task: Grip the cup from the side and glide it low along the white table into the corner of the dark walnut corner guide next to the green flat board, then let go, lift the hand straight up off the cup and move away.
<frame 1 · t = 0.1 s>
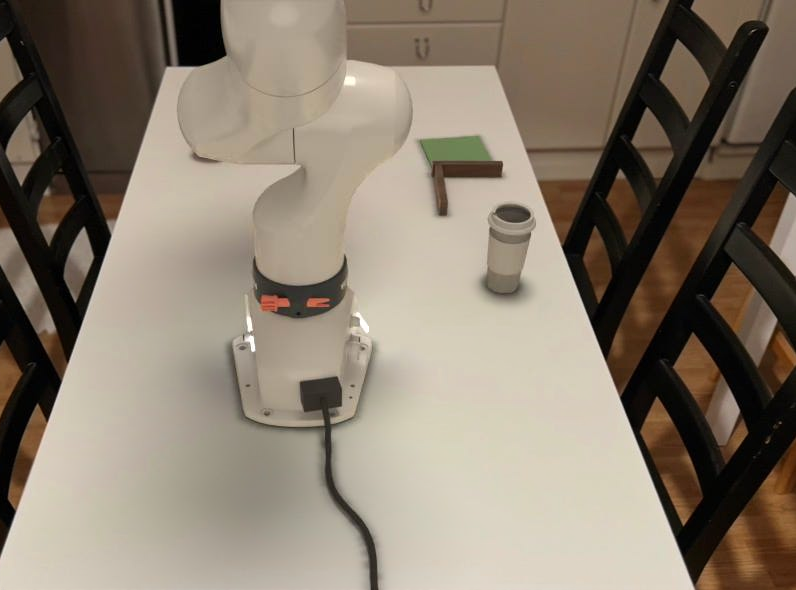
tomato: (216, 154, 164), on the table
corner guide: (469, 190, 154), on the table
green flat board: (456, 153, 164), on the table
cup: (501, 285, 135), on the table
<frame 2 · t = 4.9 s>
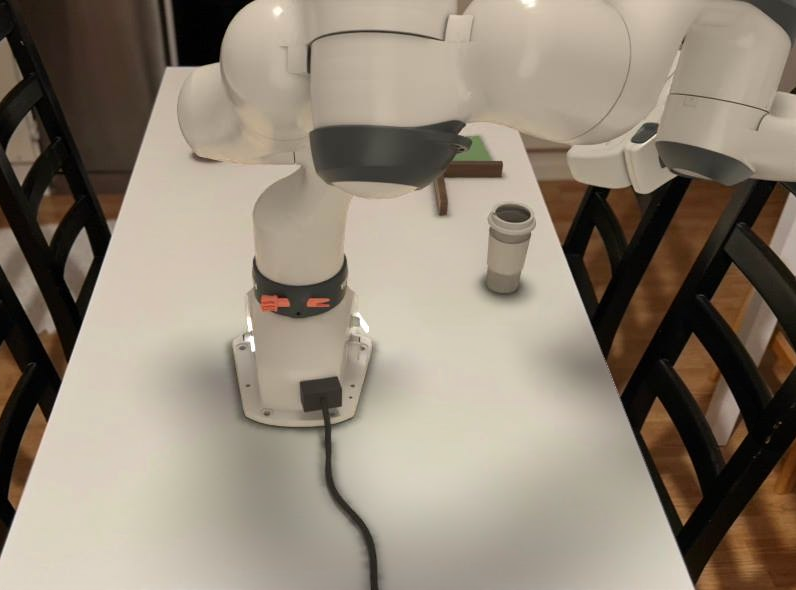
hand: (585, 108, 111), 29 cm above the table, tool horizontal, fingers open, 8 cm apart
nothing on the table moved.
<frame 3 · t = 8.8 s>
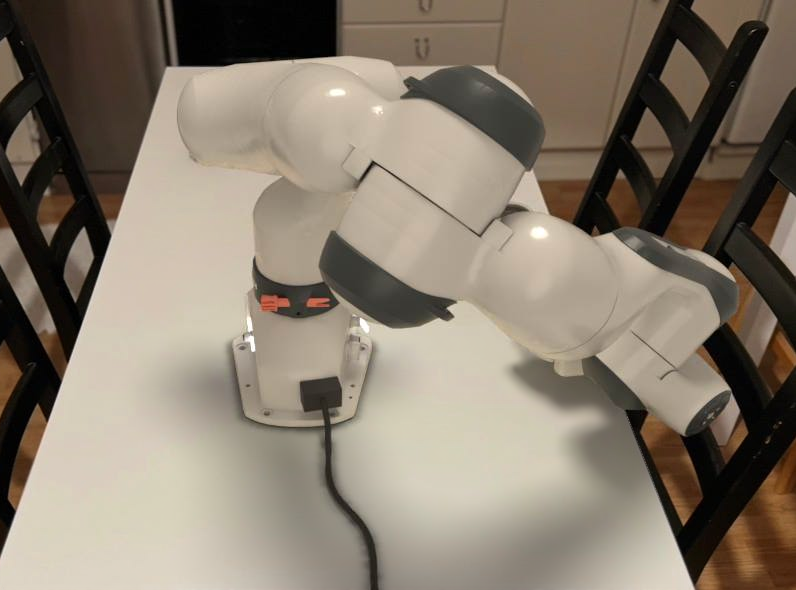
hand: (552, 280, 123), 7 cm above the table, tool horizontal, fingers open, 8 cm apart
nothing on the table moved.
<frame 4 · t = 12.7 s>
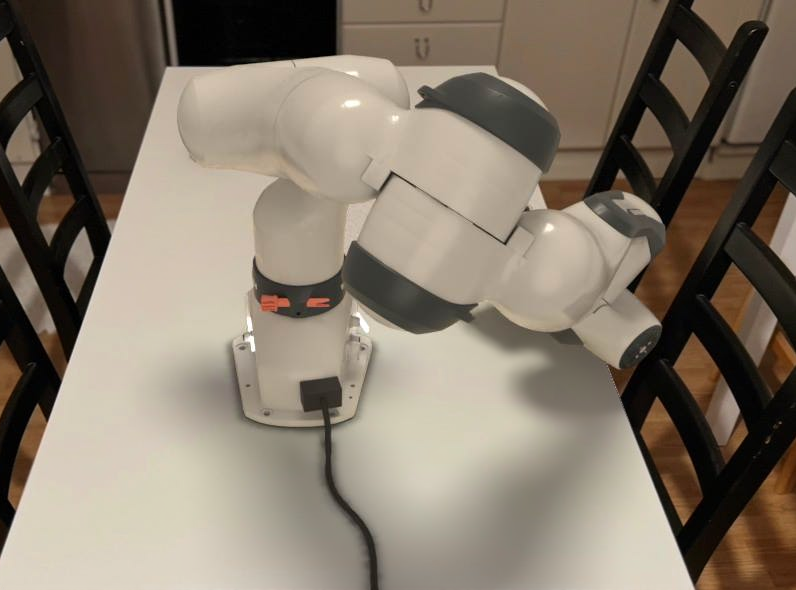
hand: (503, 232, 131), 8 cm above the table, tool horizontal, fingers closed, pressing on cup
cup: (503, 284, 135), on the table, touching gripper
everything else where it was.
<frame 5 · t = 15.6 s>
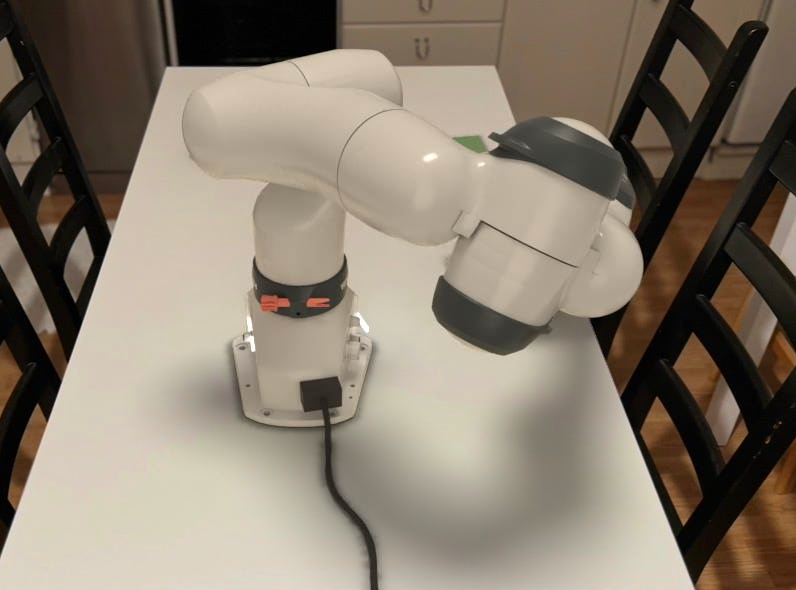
hand: (486, 182, 141), 8 cm above the table, tool horizontal, fingers closed, pressing on cup
cup: (487, 232, 145), on the table, touching gripper
everything else where it was.
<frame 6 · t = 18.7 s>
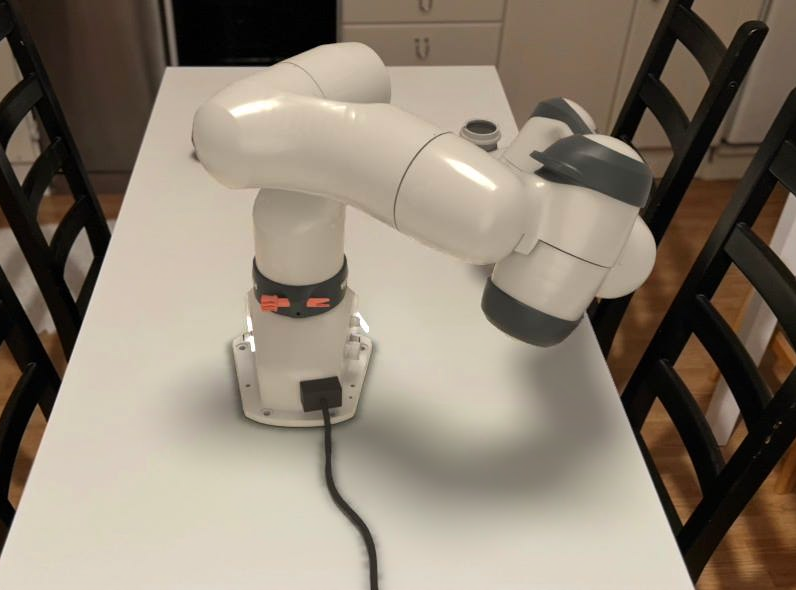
hand: (471, 147, 150), 7 cm above the table, tool horizontal, fingers closed, pressing on cup
cup: (473, 194, 154), on the table, touching gripper
everything else where it was.
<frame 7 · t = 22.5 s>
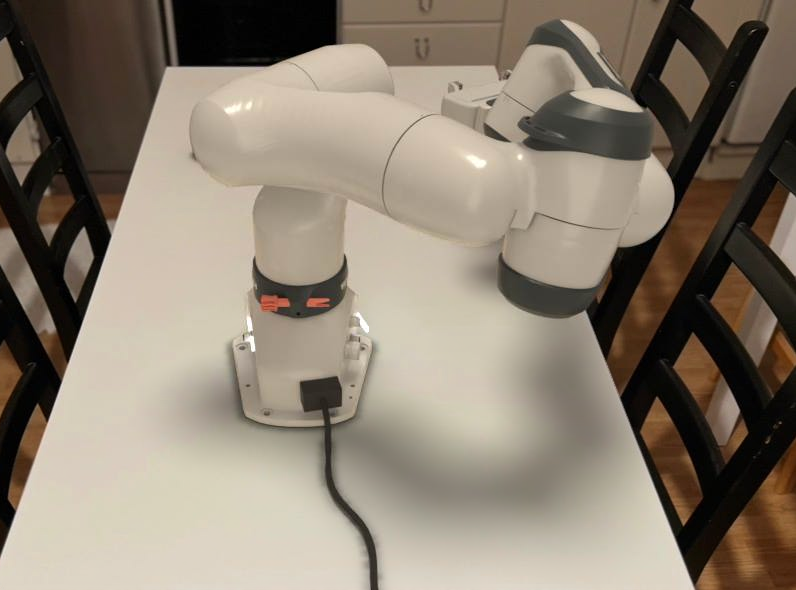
hand: (477, 80, 142), 19 cm above the table, tool horizontal, fingers open, 8 cm apart
cup: (473, 194, 154), on the table
everything else where it was.
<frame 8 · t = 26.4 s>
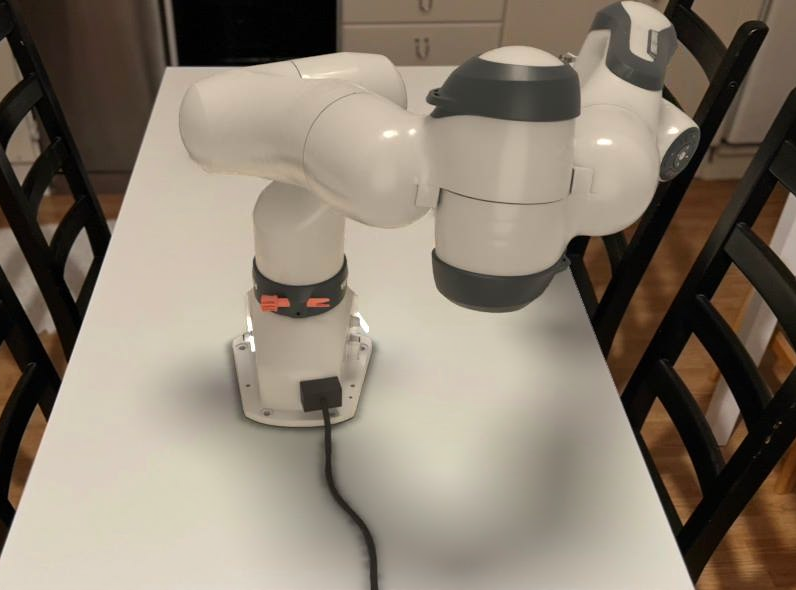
hand: (535, 64, 129), 26 cm above the table, tool horizontal, fingers open, 8 cm apart
nothing on the table moved.
at the end: cup inside the target area on the corner guide (1.1 cm from its centre), point 0.0 cm above the corner guide's base; cup tilted 0°; the gripper is holding nothing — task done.
